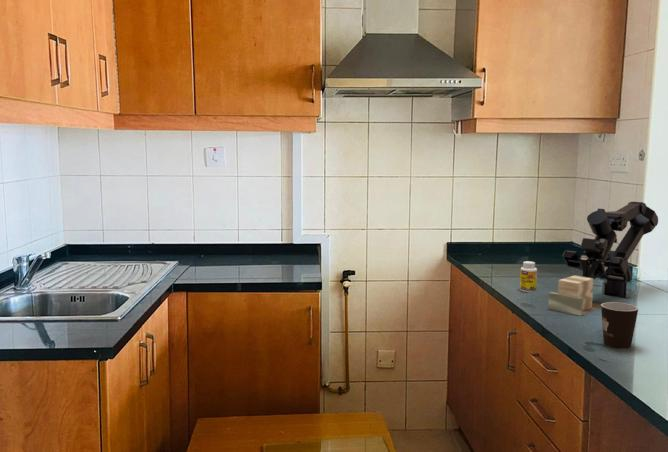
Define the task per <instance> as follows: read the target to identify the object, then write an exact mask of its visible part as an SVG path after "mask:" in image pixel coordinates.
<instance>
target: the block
mask: <svg viewBox="0 0 668 452" xmlns="http://www.w3.org/2000/svg"><path fill="white" fill-rule="evenodd" d="M593 279H594V278H588V277H583V275H582V276H581V275H575V274H574V275H572V276H568V277H564V278H562V279H558V284H557V285H558V286H557V293H559V294H565V295H570V296H575V297H580V298H583V311H584V310H586V309H589V308H591V307H592V303H593V295H594V294H593V292H594V280H595V279H594V280H593Z"/></svg>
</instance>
